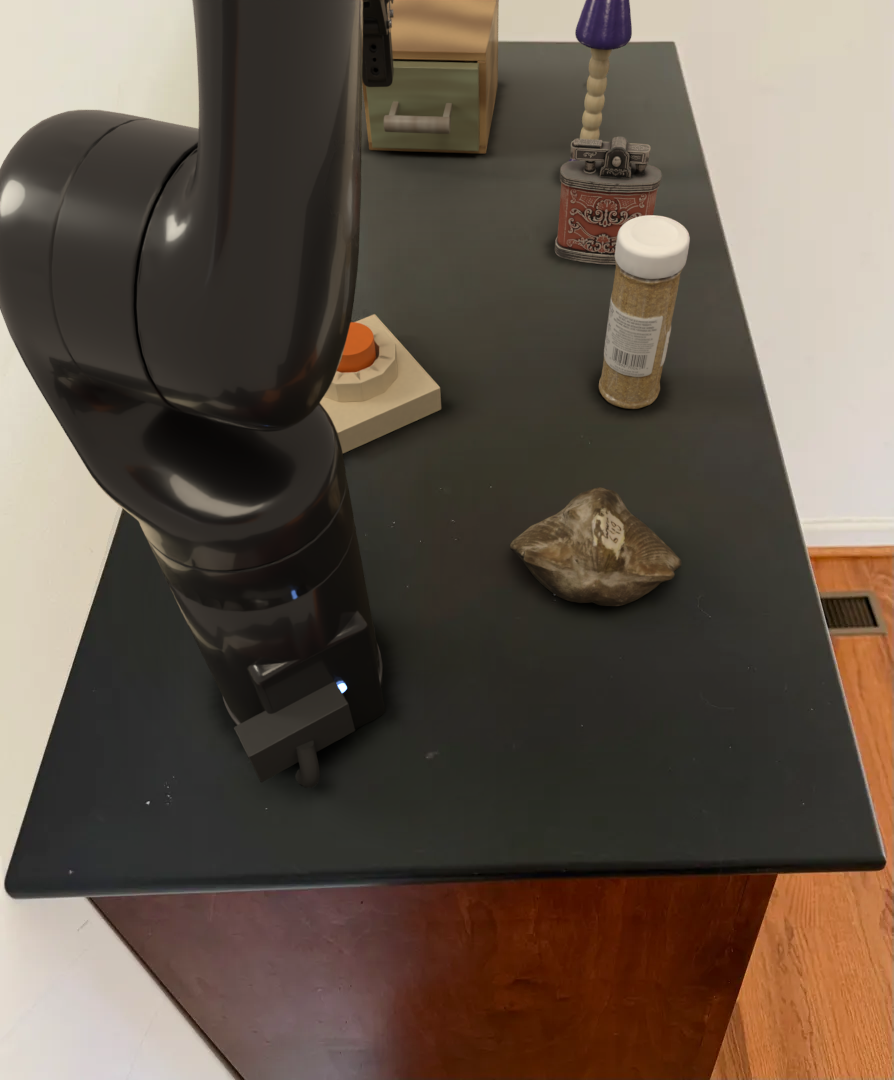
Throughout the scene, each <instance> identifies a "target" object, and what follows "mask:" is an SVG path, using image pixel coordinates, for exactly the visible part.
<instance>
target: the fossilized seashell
mask: <svg viewBox="0 0 894 1080" xmlns="http://www.w3.org/2000/svg"><path fill="white" fill-rule="evenodd" d="M509 549H510V550H511V551H512V552H514V553H515V554H516V555H517V556H518V557H519V558H520V559H521V560H522V562H523V563H524V565H525V567H526V568H527V569H528V570H529V572H530V573H531V575H532V576H533V577H534V579H536V581H538V582H539V583H540V584H541V585H542V586H544V587H545V588H546V589H547V590H548V591H549V592H550V593H551V594H554V595H555V596H557V597H558V598H561V599H563V600H565V601H567V602H571V603H578V604H590V603H593V604H595V605H598V606H604V607H620V606H624V605H627V604H630V603H632V602H636V601H638V600H639V599H641V598H642V597H644V596H645V595H647V594H649V593H650V592H652V591H653V590H655V589H656V588H657V587H658V586H659V585H660V584H661V583H665V582H668V581H671V580H672V579H673V578H674V577H675V576H676V575H675V571H676V570H678V569H679V568H681V566H682V559H681V558H680V557H679V556H678V555H677V554H676V553H675V552H674V551H673V549H672V548H671V547H670V546H669V545H667V543H665V541H664V540H662V539H661V538H660V537H659V535H657V534H656V532H654V531H653V530H652V529H651V528H650V527H649V526H647V525H646V524H645V523H644V522H643V521H641V520H640V519H639V518H638V517H637V516H636V515H633V514H632V512H630V510H629V509H628V508H627V506H626V504H625V503H624V501H623V499H622V497H621V496H620V495H619V494H618V492H616V491H614V490H613V489H608V488H605V487H593V488H591V489H589V490H587V491H582V492H581V493H578V494H577V495H576V496H574V497H573V498H572V499H571V500H570V501H569V502H568V503H567V504H566V506H565V507H563V508H562V509H561V510H559V511H558V512H557V513H555V514H553V515H551V516H549V517H546V518H544V519H542V520H541V521H539V522H537V523H534V524H532V525H530V526H529V527H528V528H527V529H525V530H524V531H523V532H522V533H520V534H519V535H518V536H516V537H515V538H514V539H513V540H511V542H510V544H509Z"/></svg>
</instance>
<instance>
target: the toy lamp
mask: <svg viewBox="0 0 894 1080" xmlns="http://www.w3.org/2000/svg"><path fill="white" fill-rule="evenodd" d="M632 28H633V26H632V15H631V1H630V0H585V1H584V4H583V7H582V8H581V12H580V15H579V18H578V21H577V24H576V26H575V38H576V41H578V42H579V43H580V44H581V45H583V46H585V47H586V48H589V49H590V54H591V58H590V59H589V61H588V72H589V75H588V77H587V80H586V91H587V92H586V94H585V97H584V111H583V113H582V118H581V119H582V120H581V122H582V127H581V130H580V134H579V139H593V140H600V134H601V133H600V127H601V125H602V121H603V112H602V110H603V109H604V106H605V102H606V101H605V100H606V98H605V93H606V90H607V86H608V78H607V75H608V73H609V72H610V71H609V70H610V65H611V64H610V58H609V57H610V56H611V54H612V51H613V50H617V49H621V48H622V47H626V46H627V45H628V44H629V42H631V39H632V37H633V36H632V35H633V29H632ZM568 161H577V160H573V159H571V158H570V159H569V160H568Z"/></svg>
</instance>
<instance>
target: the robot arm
mask: <svg viewBox="0 0 894 1080" xmlns="http://www.w3.org/2000/svg"><path fill="white" fill-rule="evenodd" d="M191 1H192V11H193V19H194V20H193V21H194V30H195V31H194V33H195V45H196V46H195V47H196V62H197V65H196V66H197V87H198V90H197V91H198V92H197V93H198V127H192V126H187V125H182V124H177V123H174V122H173V123H172V122H168V121H163V120H157V119H152V118H150V117H149V118H148V117H144V116H138V115H134V114H128V113H122V112H116V111H109V110H102V109H74V110H67V111H63V112H60V113H57V114H53V115H51V116H49V117H47V118H45V119H42V120H40V121H38V123H36V124H35V125H33V126H32V127H30V128H29V129H28V130H27V131H26V132H24V133H23V134H22V135H21V137H20V138H19V139H18V140H17V141H16V142H15V143H14V145H13V146H12V148H11V149H10V150H9V152H8V153H7V155H6V157H5V158H4V159H3V161H2V163H1V166H0V313H1V315H2V319H3V321H4V323H5V326H6V328H7V332H8V334H9V336H10V338H11V340H12V342H13V344H14V346H15V348H16V350H17V352H18V354H19V356H20V358H21V360H22V362H23V364H24V366H25V367H26V369H27V371H28V373H29V374H30V376H31V378H32V379H33V382H34V383H35V385H36V387H37V388H38V390H39V392H40V394H41V395H42V397H43V398H44V400H45V401H46V403H47V405H48V407H49V409H50V410H51V412H52V413H53V415H54V417H55V418H56V420H57V422H58V423H59V425H60V427H61V428H62V430H63V432H64V433H65V435H66V436H67V438H68V440H69V441H70V442H71V445H72V447H73V448H74V450H75V451H76V453H77V455H78V457H79V458H80V460H81V462H82V463H83V465H84V466H85V468H86V470H87V471H88V473H89V474H90V476H91V478H92V479H93V480H94V481H95V483H96V485H98V487H99V488H100V489H101V490H102V492H103V493H104V494H105V495H107V496H108V497H109V498H110V500H111V501H113V502H114V503H115V504H117V506H119V507H120V508H121V509H123V510H124V511H125V512H127V513H128V515H130V516H131V517H133V518H134V519H135V520H136V521H137V522H138V524H139V526H140V528H141V530H142V532H143V535H144V537H145V539H146V540H147V541H146V542H147V543H148V545H149V547H150V549H151V551H152V553H153V555H154V557H155V559H156V561H157V564H158V566H159V567H160V570H161V572H162V575H163V577H164V579H165V581H166V583H167V585H168V587H169V589H170V591H171V593H172V595H173V597H174V600H175V601H176V604H177V605H178V608H179V610H180V613H181V614H182V616H183V618H184V620H185V622H186V624H187V626H188V628H189V631H190V633H191V634H192V637H193V638H194V641H195V642H196V646H197V647H198V649H199V651H200V653H201V655H202V657H203V659H204V661H205V663H206V666H207V668H208V670H209V672H210V674H211V676H212V678H213V680H214V682H215V684H216V686H217V687H218V689H219V691H220V694H221V695H222V700H223V702H224V706H225V708H226V711H227V712H228V715H229V716H230V719H231V720H232V721H233V723H234V724H235V726H234V727H233V729H234V731H235V733H236V735H237V738H238V740H239V741H240V744H241V746H242V747H243V749H244V751H245V754H246V756H247V757H248V759H249V760H248V761H249V762H250V764H251V766H252V768H253V770H254V772H255V773H256V776H257V778H258V780H259V782H260V783H263V782H265V781H267V780H269V779H270V778H272V777H274V776H276V775H277V774H280V773H281V772H283V771H285V770H286V769H288V768H291V767H292V766H294V765H296V764H297V763H298V767H299V769H298V770H296V773H295V780H296V782H297V784H298V785H300V786H302V787H303V788H307V789H312V788H314V787H315V786H317V785H318V783H319V780H320V777H321V771H320V764H319V760H318V755H317V752H320V751H322V750H323V749H325V748H326V747H328V746H330V745H332V744H334V743H336V742H337V741H339V740H341V739H343V738H345V737H346V736H348V735H350V734H352V733H354V732H355V731H356V730H357V729H359V728H361V727H363V726H365V725H366V724H368V723H370V722H372V721H374V720H375V719H377V718H379V717H381V716H383V715H384V714H385V713H386V707H385V701H384V697H383V691H382V687H383V680H384V666H383V664H384V663H383V660H382V654H381V650H380V647H379V644H378V640H377V635H376V629H375V625H374V620H373V615H372V610H371V604H370V599H369V593H368V588H367V584H366V578H365V572H364V567H363V561H362V556H361V550H360V545H359V540H358V533H357V528H356V523H355V517H354V512H353V505H352V500H351V495H350V490H349V489H350V488H349V482H348V477H347V472H346V471H347V470H346V466H345V459H344V455H343V454H344V453H342V448H341V444H340V440H339V436H338V433H337V430H336V428H335V425H334V423H333V421H332V419H331V418H330V416H329V414H328V413H327V411H326V410H325V409H324V407H323V406H322V405H321V404H320V402H321V400H322V399H323V397H324V396H325V394H326V393H327V391H328V389H329V387H330V386H331V384H332V381H333V379H334V376H335V374H336V371H337V369H338V366H339V364H340V361H341V359H342V355H343V351H344V347H345V343H346V340H347V335H348V331H349V327H350V323H351V322H352V317H353V312H354V311H353V310H354V302H355V294H356V287H357V281H358V280H357V279H358V270H359V267H358V266H359V257H360V256H359V255H360V237H361V236H360V235H361V234H360V231H361V230H360V229H361V204H362V203H361V198H362V139H363V138H362V137H363V136H362V134H363V132H362V131H363V130H362V128H363V127H362V125H363V122H362V121H363V86H362V79H363V83H364V85H365V86H367V87H388V86H390V85H391V84H392V81H393V74H394V67H393V53H392V39H391V28H392V18H394V10H393V9H392V3H393V0H191Z"/></svg>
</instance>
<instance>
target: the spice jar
mask: <svg viewBox="0 0 894 1080" xmlns="http://www.w3.org/2000/svg"><path fill="white" fill-rule="evenodd" d="M690 241H691V238H690V234H689V231H688V229H687V228H686V227H685V226H684V225H683V224H682V223H680V221H679V222H678V221H677V220H675V219H673V218H671V217H668V216H663V215H654V214H653V215H646V216H639V217H636V218H633V219H631V220H629V221H627V222H626V223H624V224H623V225H622V226H621V228H620V229H619V231H618V235H617V241H616V248H615V263H616V264H615V270H614V277H613V286H612V291H611V295H610V300H609V301H610V302H609V310H608V318H607V323H606V333H605V338H604V347H603V348H604V349H603V361H602V362H603V363H602V370H601V376H600V378H599V383H598V390H599V393H600V394H601V396H602V398H604V400H605V401H606V402H607V403H609V404H611V405H612V406H615V407H619V408H622V409H629V410H638V409H642V408H645V407H647V406H650V405H651V404H653V403H654V402H655V401H656V400H657V398H658V396H659V394H660V391H661V377H662V373H663V367H664V363H665V361H666V359H667V358H666V357H667V353H668V348H669V342H670V337H671V331H672V322H673V316H674V311H675V307H676V302H677V301H676V300H677V295H678V292H679V285H680V280H681V273H682V271H683V269H684V268H685V266H686V264H687V259H688V254H689V248H690V243H691V242H690Z"/></svg>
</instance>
